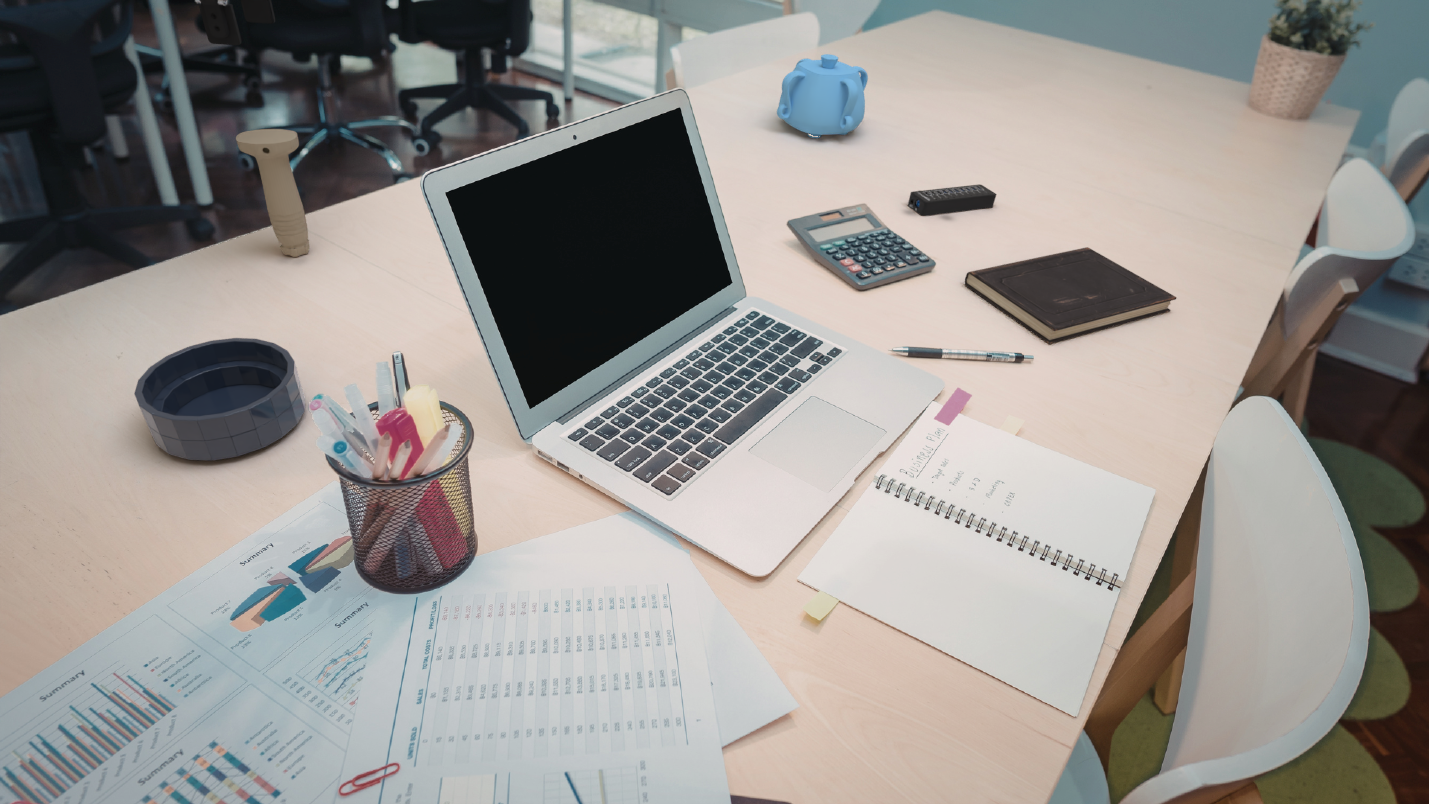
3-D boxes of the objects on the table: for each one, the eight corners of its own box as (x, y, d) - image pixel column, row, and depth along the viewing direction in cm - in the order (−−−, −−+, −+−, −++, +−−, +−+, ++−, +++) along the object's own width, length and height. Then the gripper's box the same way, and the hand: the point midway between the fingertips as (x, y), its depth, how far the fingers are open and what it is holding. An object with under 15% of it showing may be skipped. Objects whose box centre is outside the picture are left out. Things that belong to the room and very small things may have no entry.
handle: (271, 245, 105) (239, 129, 96) (325, 242, 106) (299, 128, 97) (266, 262, 101) (232, 144, 92) (322, 259, 103) (294, 143, 94)
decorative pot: (846, 150, 150) (860, 74, 142) (765, 131, 155) (775, 57, 146) (868, 126, 163) (882, 54, 154) (792, 109, 167) (803, 39, 159)
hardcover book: (1169, 311, 110) (1176, 297, 109) (1049, 344, 101) (1055, 329, 99) (1079, 259, 121) (1084, 245, 120) (962, 284, 112) (967, 269, 110)
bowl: (126, 463, 72) (104, 417, 69) (193, 378, 82) (177, 335, 79) (277, 467, 73) (262, 422, 70) (324, 383, 83) (313, 340, 80)
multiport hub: (993, 207, 134) (997, 194, 133) (922, 216, 129) (925, 202, 128) (977, 196, 137) (980, 183, 136) (906, 204, 132) (909, 191, 131)
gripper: (197, -160, 87) (240, 12, 98) (112, -149, 74) (172, 50, 84) (270, -153, 88) (305, 17, 98) (199, -141, 74) (248, 56, 85)
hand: (244, 32), depth 91 cm, fingers open, 9 cm apart
